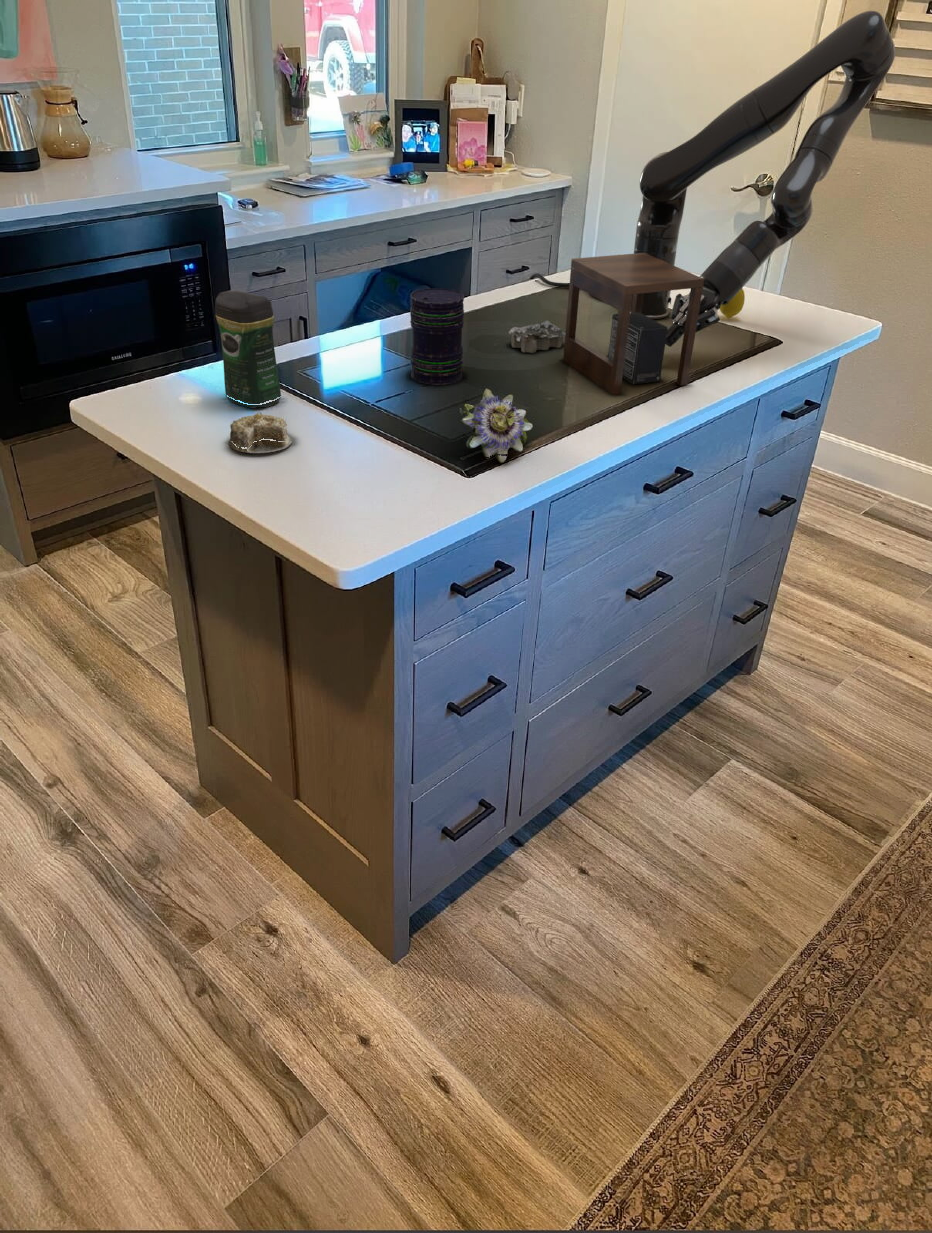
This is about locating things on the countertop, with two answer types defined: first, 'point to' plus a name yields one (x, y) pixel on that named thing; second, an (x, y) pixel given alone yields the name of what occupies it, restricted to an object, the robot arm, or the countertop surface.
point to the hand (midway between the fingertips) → (665, 342)
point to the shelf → (625, 309)
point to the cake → (259, 434)
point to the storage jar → (436, 335)
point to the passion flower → (496, 425)
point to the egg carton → (537, 337)
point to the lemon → (733, 305)
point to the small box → (641, 348)
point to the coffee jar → (248, 348)
